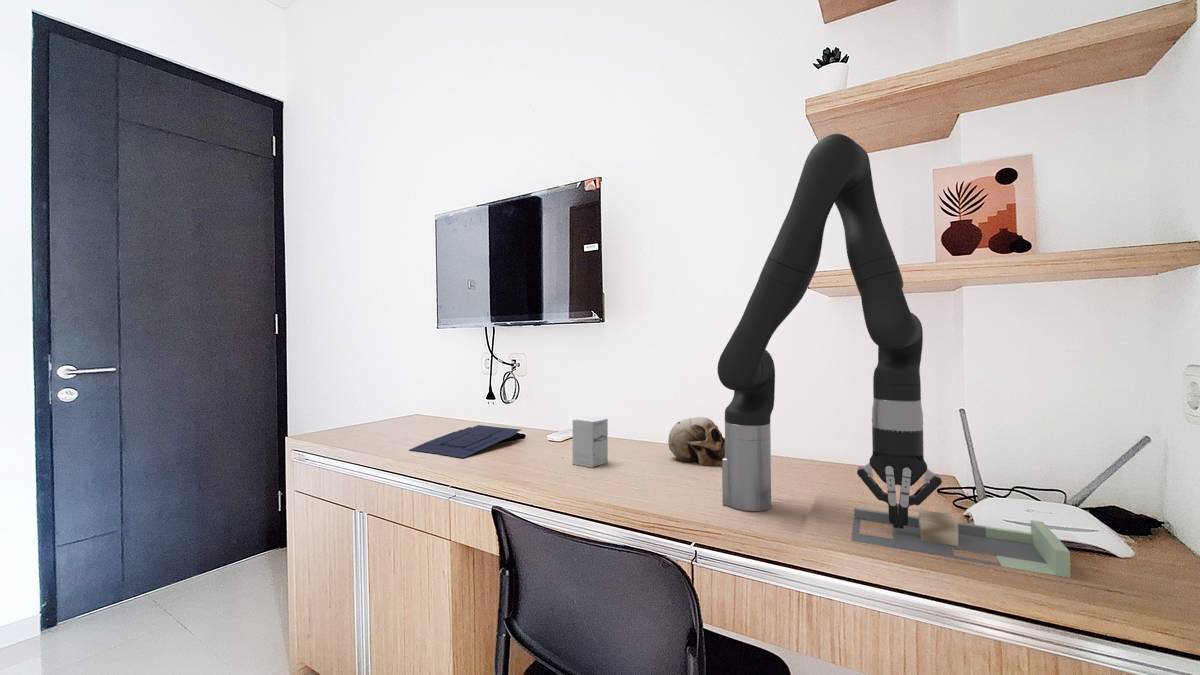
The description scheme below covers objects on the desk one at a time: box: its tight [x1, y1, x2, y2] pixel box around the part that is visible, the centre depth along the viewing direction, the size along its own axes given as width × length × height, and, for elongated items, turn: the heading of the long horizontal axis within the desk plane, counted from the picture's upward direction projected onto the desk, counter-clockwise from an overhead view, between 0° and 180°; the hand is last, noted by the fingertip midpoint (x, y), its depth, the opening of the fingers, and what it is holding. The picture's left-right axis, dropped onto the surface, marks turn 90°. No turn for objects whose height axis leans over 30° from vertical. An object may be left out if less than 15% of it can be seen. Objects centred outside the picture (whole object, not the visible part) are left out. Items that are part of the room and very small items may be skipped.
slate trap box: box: [850, 507, 1071, 578], centre depth 81 cm, size 27×13×5 cm, turn 61°
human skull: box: [667, 416, 725, 467], centre depth 144 cm, size 16×17×13 cm
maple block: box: [918, 509, 959, 546], centre depth 83 cm, size 5×5×4 cm
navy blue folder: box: [408, 424, 523, 459], centre depth 166 cm, size 24×30×4 cm
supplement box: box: [572, 416, 609, 469], centre depth 141 cm, size 7×7×13 cm
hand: (898, 526), depth 85 cm, fingers closed
